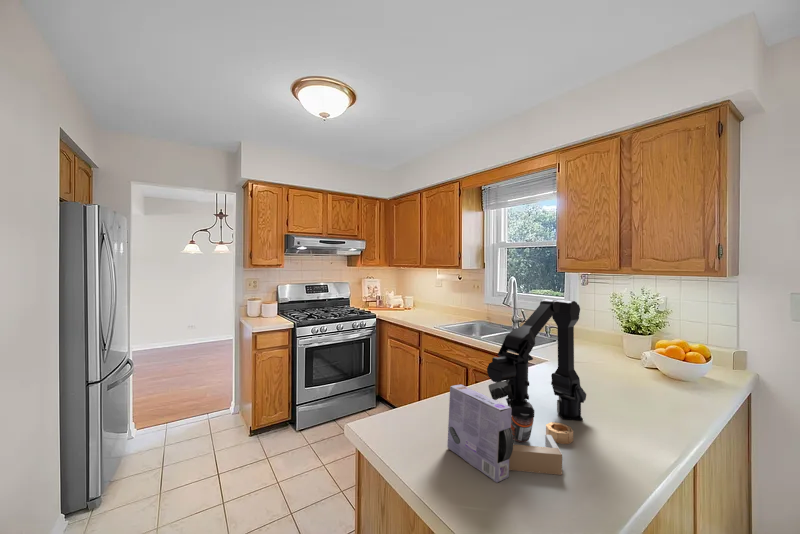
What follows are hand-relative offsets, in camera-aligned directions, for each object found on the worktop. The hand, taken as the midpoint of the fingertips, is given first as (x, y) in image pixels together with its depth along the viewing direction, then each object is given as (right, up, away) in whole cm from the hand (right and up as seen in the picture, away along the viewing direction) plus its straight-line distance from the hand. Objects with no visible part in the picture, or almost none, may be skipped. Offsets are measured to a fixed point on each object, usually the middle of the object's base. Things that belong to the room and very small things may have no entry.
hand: (516, 425), depth 103 cm
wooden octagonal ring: (+12, -3, -2) cm, 13 cm away
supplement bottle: (0, -1, -3) cm, 3 cm away
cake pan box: (-15, -3, -15) cm, 22 cm away
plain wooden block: (-2, -3, -12) cm, 13 cm away
